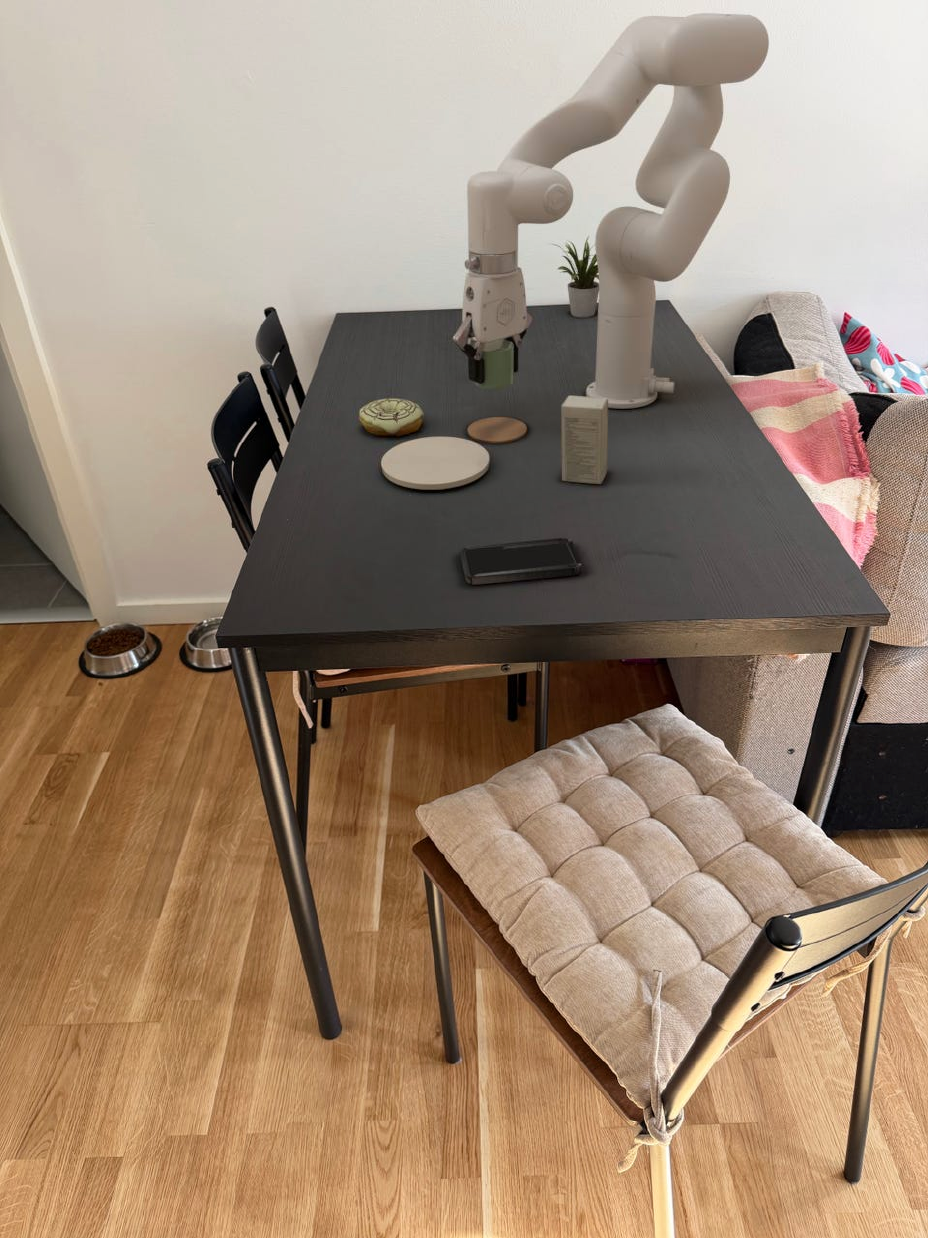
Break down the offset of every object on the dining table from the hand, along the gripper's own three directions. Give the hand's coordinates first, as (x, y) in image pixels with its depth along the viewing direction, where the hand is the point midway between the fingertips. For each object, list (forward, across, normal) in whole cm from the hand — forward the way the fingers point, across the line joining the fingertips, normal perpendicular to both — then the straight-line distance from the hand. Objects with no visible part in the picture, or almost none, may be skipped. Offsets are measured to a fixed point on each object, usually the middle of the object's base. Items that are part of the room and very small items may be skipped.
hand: (493, 374), depth 154 cm
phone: (+10, -26, -34) cm, 44 cm away
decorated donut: (+10, -11, +14) cm, 21 cm away
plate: (+10, -16, -4) cm, 19 cm away
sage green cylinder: (+1, 0, 0) cm, 1 cm away
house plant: (+9, +55, +34) cm, 65 cm away
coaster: (+10, +1, 0) cm, 10 cm away
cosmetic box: (+10, -2, -22) cm, 24 cm away
